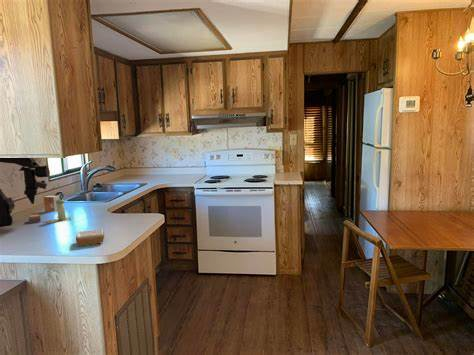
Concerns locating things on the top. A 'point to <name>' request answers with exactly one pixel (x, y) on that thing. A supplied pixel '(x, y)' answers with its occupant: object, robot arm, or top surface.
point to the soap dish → (89, 237)
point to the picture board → (56, 220)
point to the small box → (50, 203)
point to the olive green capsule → (61, 210)
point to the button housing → (35, 219)
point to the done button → (34, 216)
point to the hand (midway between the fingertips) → (32, 203)
